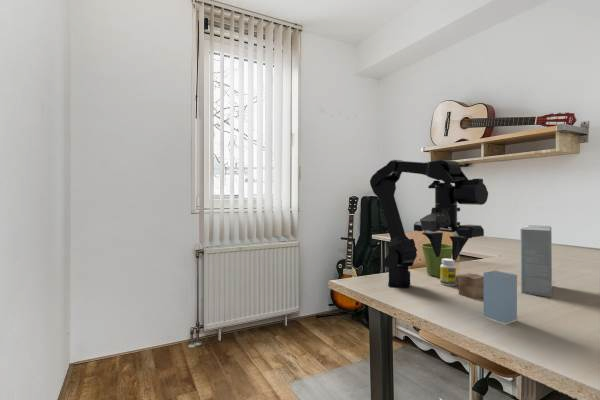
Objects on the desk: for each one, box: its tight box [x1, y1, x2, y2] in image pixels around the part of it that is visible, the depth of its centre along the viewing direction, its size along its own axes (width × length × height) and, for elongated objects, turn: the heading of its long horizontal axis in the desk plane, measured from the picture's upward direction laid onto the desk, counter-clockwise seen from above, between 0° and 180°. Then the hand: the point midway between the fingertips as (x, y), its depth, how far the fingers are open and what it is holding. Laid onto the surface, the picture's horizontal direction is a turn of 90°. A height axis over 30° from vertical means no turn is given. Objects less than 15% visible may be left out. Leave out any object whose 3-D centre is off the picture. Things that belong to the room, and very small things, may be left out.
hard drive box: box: [519, 224, 553, 298], centre depth 98 cm, size 16×8×20 cm, turn 141°
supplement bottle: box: [439, 258, 457, 287], centre depth 104 cm, size 5×5×8 cm
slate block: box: [483, 270, 518, 326], centre depth 74 cm, size 5×5×11 cm
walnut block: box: [458, 272, 484, 300], centre depth 92 cm, size 5×5×6 cm
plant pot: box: [420, 242, 452, 278], centre depth 116 cm, size 12×12×11 cm
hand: (445, 258), depth 88 cm, fingers open, 5 cm apart
